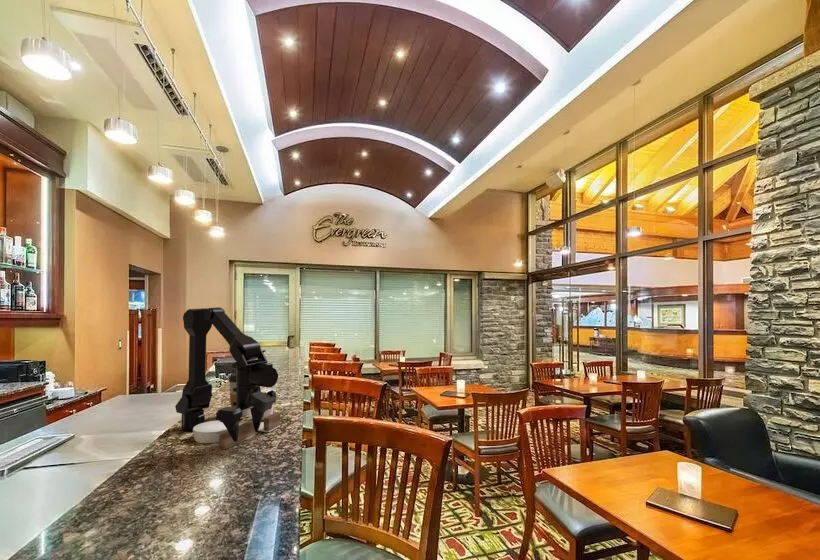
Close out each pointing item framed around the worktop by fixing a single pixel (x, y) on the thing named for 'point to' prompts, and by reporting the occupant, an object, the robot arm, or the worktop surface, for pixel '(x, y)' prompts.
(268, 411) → the smoothie
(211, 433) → the ramekin
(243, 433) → the wooden handled dough scraper
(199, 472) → the worktop surface
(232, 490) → the worktop surface
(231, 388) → the coffee cup
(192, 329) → the robot arm
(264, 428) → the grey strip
